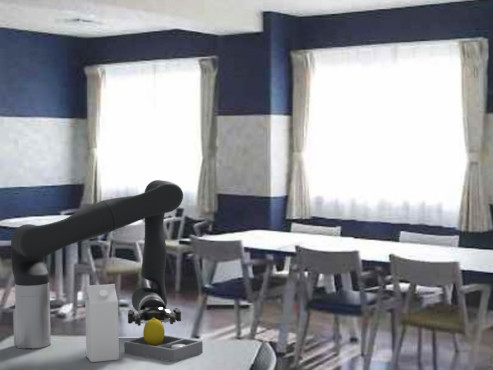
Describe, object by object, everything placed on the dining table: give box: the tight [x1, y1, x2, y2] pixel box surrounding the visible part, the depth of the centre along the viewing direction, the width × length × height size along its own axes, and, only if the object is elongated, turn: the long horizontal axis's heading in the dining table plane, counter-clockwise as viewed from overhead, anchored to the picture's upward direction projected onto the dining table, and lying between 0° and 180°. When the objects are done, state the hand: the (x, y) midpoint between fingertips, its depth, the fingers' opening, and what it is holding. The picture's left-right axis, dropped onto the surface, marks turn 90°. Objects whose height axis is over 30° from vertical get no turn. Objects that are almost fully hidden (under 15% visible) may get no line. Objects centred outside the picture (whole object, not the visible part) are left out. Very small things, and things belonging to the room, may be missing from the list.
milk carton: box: [84, 283, 120, 363], centre depth 213 cm, size 7×7×19 cm
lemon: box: [142, 318, 165, 346], centre depth 220 cm, size 6×6×8 cm
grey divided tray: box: [123, 334, 204, 363], centre depth 219 cm, size 17×12×3 cm
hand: (155, 321), depth 218 cm, fingers open, 8 cm apart
